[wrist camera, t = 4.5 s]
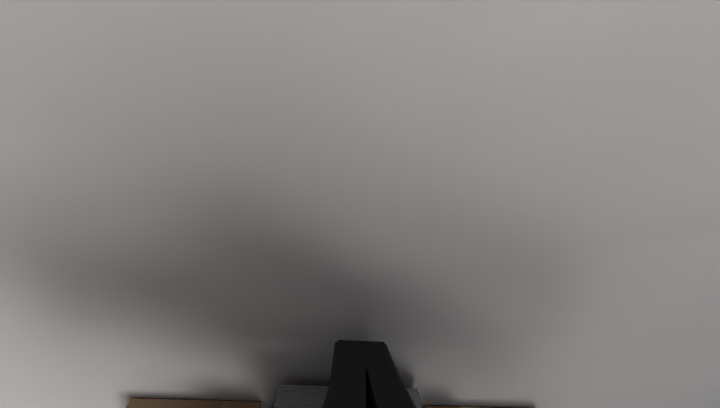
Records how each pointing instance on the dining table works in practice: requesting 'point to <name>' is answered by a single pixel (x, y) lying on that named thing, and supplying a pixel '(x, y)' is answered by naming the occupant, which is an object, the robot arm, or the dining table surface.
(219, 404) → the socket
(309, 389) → the key bar
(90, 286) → the dining table surface
